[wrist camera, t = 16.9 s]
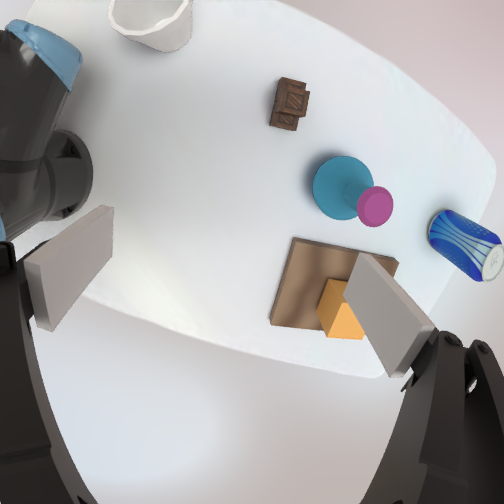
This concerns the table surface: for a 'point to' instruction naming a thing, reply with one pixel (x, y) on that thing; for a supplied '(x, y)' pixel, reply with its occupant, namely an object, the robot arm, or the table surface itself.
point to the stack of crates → (289, 104)
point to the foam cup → (153, 22)
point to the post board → (314, 280)
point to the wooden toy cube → (338, 313)
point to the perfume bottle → (351, 192)
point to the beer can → (467, 245)
